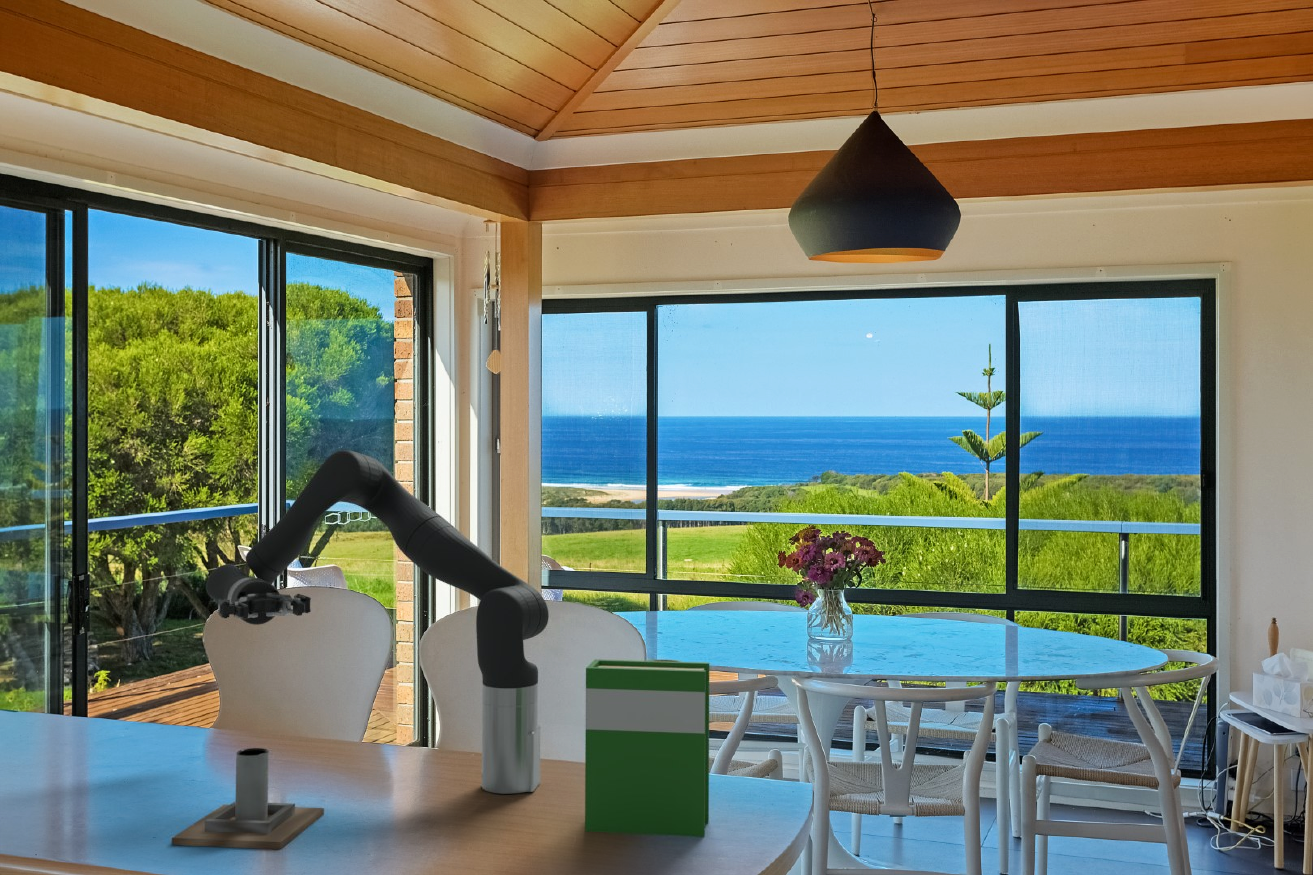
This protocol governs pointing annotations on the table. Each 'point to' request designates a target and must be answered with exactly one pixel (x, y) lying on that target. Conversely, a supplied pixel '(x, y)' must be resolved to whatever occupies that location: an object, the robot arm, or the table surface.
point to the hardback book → (647, 747)
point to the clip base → (249, 828)
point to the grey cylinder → (252, 784)
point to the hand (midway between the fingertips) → (273, 610)
